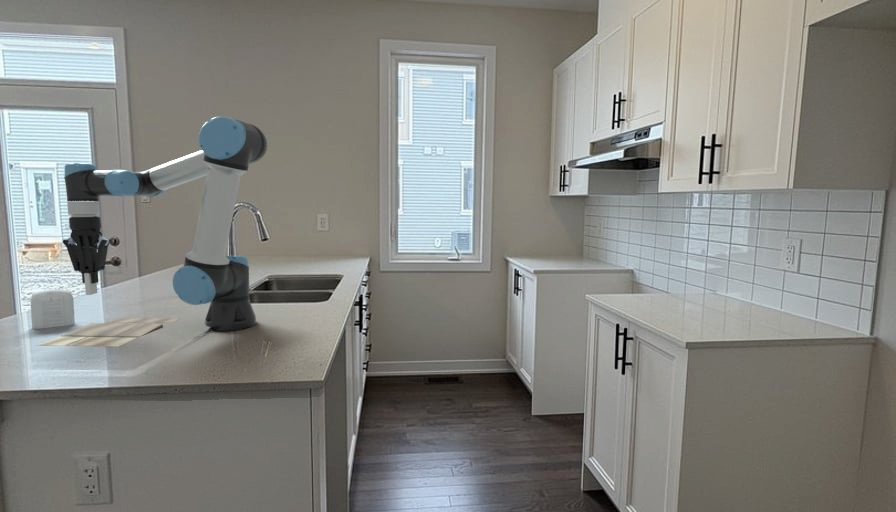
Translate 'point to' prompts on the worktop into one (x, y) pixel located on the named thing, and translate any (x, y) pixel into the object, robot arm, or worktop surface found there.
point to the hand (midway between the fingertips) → (91, 293)
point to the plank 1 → (115, 329)
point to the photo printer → (52, 309)
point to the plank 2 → (144, 320)
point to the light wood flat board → (89, 341)
